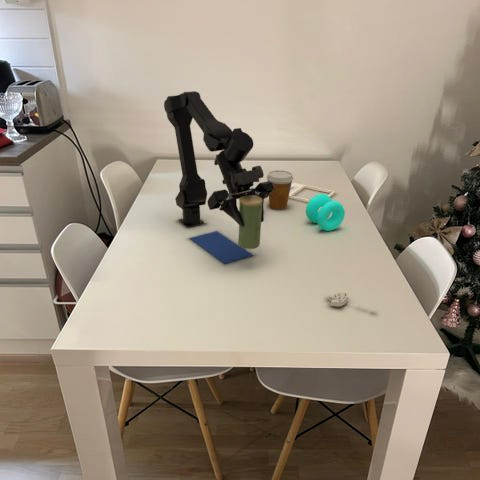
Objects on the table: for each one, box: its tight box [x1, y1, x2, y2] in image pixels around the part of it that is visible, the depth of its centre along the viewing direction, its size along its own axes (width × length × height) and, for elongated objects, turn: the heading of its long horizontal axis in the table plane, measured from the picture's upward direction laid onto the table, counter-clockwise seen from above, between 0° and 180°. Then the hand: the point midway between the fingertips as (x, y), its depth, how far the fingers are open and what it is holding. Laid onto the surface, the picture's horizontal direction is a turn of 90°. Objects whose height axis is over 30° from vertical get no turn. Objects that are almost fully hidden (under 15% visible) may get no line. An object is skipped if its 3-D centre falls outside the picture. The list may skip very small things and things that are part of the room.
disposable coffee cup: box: [266, 169, 294, 211], centre depth 175 cm, size 10×10×12 cm
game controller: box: [328, 291, 373, 312], centre depth 124 cm, size 6×12×3 cm, turn 77°
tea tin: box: [237, 195, 262, 250], centre depth 133 cm, size 6×6×13 cm
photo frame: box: [288, 182, 336, 203], centre depth 189 cm, size 15×1×18 cm
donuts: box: [305, 193, 346, 232], centre depth 162 cm, size 10×10×10 cm
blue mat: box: [189, 230, 254, 265], centre depth 150 cm, size 20×10×1 cm, turn 35°
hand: (252, 223), depth 132 cm, fingers closed on tea tin, 6 cm apart
